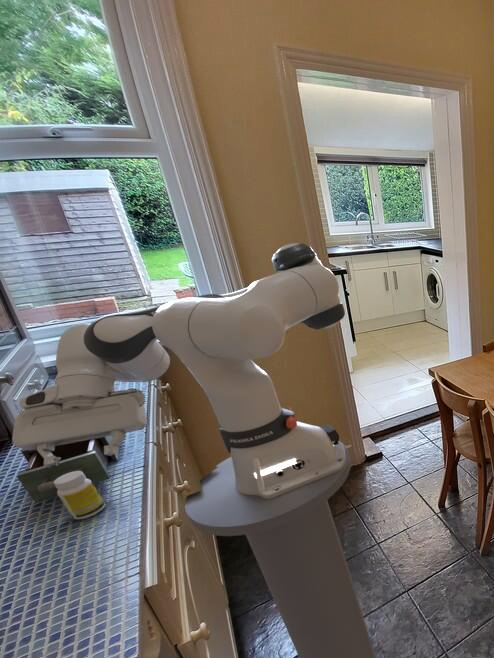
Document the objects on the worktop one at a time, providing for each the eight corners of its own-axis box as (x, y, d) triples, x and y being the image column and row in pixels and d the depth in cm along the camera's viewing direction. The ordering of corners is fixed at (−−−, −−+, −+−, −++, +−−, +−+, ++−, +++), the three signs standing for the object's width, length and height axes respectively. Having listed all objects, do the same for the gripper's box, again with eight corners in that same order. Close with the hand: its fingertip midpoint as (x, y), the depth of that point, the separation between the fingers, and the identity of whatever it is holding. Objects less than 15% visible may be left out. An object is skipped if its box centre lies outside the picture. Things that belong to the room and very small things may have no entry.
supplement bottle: (112, 504, 82) (91, 470, 79) (86, 521, 78) (63, 486, 75) (93, 502, 83) (72, 468, 80) (66, 519, 79) (43, 484, 75)
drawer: (108, 488, 86) (92, 461, 83) (30, 514, 79) (10, 486, 77) (113, 453, 98) (100, 428, 96) (47, 473, 92) (30, 447, 89)
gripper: (153, 392, 91) (153, 451, 87) (36, 411, 85) (30, 476, 81) (135, 381, 86) (135, 444, 81) (8, 401, 80) (1, 470, 75)
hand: (81, 460), depth 81 cm, fingers open, 8 cm apart
